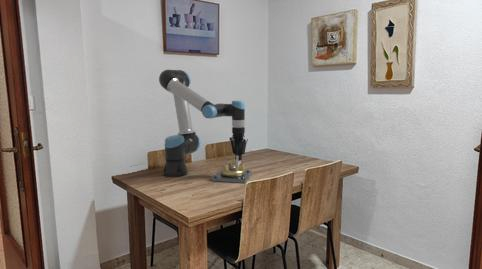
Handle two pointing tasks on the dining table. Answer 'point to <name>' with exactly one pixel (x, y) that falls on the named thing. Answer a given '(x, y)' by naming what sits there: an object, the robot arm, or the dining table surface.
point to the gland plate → (239, 179)
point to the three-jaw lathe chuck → (232, 170)
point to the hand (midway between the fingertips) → (238, 165)
